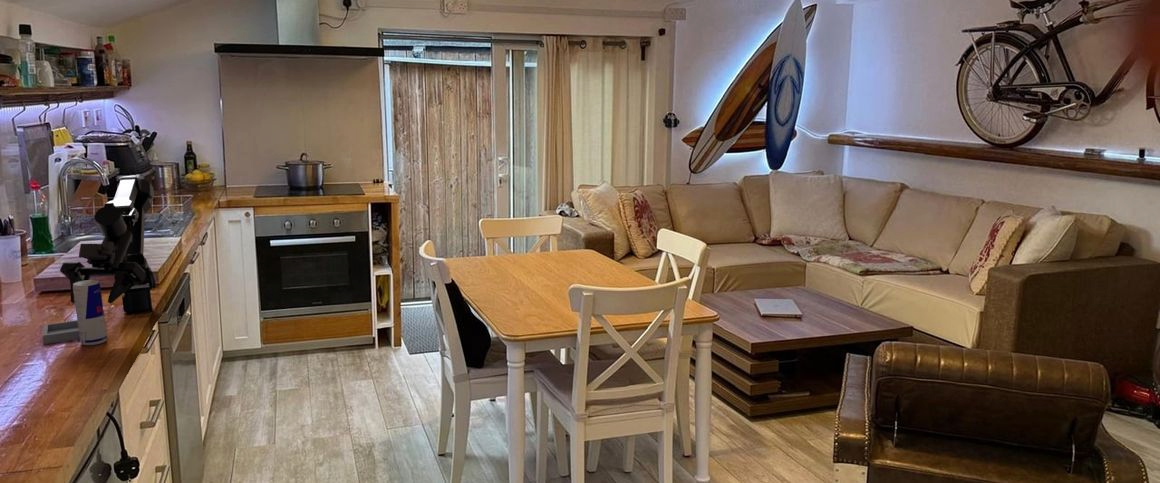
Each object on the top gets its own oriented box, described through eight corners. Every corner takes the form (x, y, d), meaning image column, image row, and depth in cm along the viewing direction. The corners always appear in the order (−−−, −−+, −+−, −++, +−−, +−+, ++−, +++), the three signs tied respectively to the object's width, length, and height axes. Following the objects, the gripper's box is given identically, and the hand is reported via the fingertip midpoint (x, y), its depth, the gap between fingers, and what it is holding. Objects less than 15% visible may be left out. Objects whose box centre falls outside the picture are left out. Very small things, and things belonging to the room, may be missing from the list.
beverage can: (95, 347, 199) (87, 285, 196) (75, 345, 200) (66, 284, 197) (113, 339, 204) (105, 279, 201) (93, 338, 205) (84, 278, 202)
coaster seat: (95, 325, 216) (94, 317, 215) (95, 336, 207) (94, 328, 206) (45, 332, 211) (44, 324, 210) (44, 344, 201) (42, 335, 201)
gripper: (59, 229, 203) (33, 285, 194) (133, 229, 202) (110, 285, 193) (85, 254, 212) (61, 308, 204) (155, 254, 211) (134, 309, 202)
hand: (90, 302), depth 200 cm, fingers open, 9 cm apart
